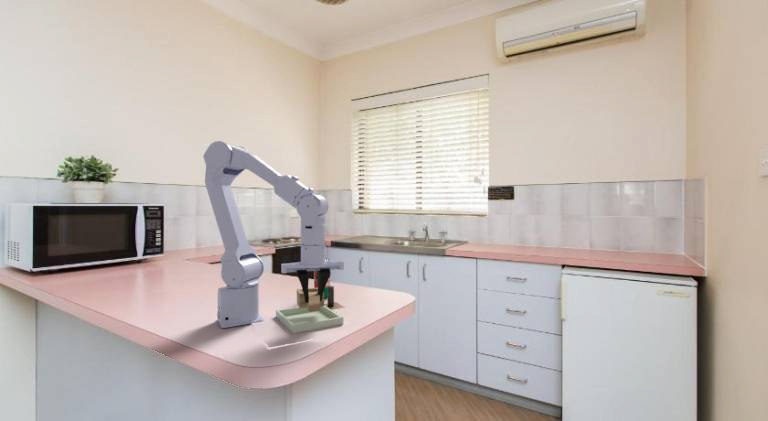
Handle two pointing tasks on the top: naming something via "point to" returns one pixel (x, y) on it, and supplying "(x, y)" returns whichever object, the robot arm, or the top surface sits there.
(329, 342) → the top surface
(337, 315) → the tray
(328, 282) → the soda can
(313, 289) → the tan frame with handle
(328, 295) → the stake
